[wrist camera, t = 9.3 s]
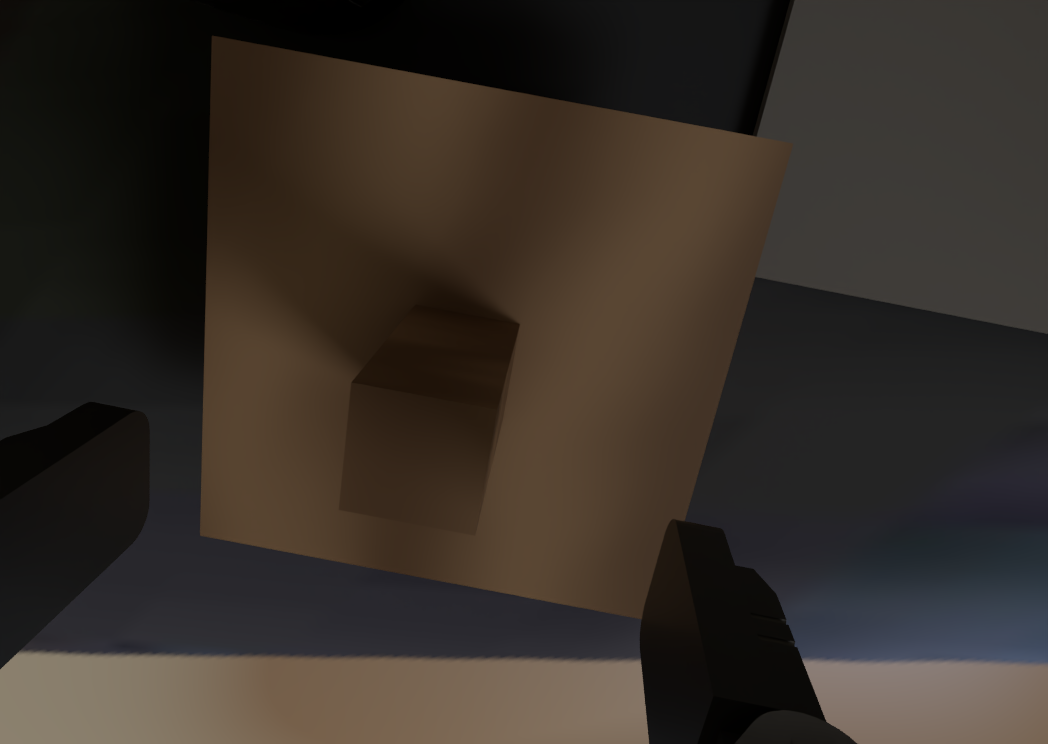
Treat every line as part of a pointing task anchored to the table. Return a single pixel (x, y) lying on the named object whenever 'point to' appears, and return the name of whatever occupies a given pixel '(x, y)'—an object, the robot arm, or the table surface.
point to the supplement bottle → (309, 13)
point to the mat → (914, 154)
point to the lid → (465, 322)
